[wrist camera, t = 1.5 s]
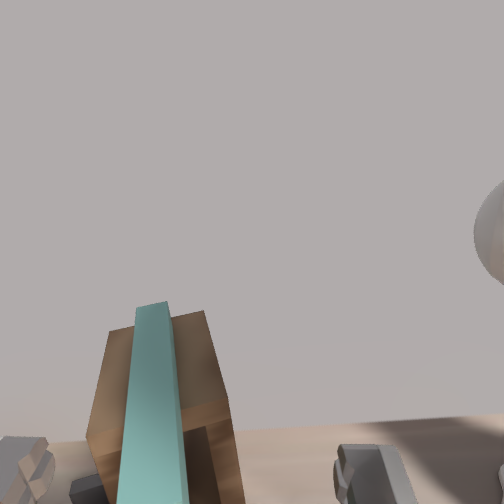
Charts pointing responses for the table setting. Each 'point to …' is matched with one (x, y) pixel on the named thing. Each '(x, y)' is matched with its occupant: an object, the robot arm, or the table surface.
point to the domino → (88, 491)
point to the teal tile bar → (153, 416)
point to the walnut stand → (192, 414)
